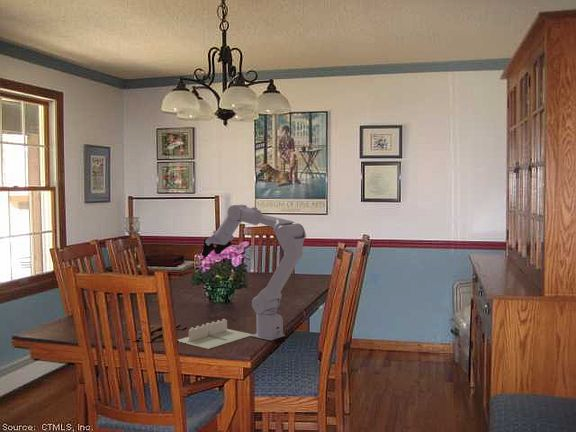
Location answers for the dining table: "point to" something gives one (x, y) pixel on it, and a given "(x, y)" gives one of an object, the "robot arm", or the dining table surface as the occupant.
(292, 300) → the dining table surface
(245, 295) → the dining table surface
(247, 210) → the robot arm
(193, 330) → the fence post and fixed panel
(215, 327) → the folding fence panel
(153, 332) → the decorative fence
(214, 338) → the card
